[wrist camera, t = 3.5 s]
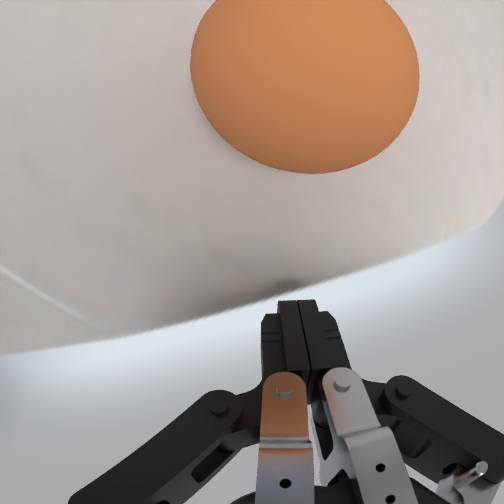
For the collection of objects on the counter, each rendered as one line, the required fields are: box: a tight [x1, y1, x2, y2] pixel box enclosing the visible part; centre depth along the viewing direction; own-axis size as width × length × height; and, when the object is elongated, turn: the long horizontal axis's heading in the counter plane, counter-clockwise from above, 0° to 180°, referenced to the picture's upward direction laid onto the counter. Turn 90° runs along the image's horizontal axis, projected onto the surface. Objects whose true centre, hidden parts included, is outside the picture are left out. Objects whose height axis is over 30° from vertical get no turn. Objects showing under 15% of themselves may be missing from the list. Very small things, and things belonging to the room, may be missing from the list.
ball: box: [190, 0, 419, 174], centre depth 6 cm, size 6×6×6 cm
